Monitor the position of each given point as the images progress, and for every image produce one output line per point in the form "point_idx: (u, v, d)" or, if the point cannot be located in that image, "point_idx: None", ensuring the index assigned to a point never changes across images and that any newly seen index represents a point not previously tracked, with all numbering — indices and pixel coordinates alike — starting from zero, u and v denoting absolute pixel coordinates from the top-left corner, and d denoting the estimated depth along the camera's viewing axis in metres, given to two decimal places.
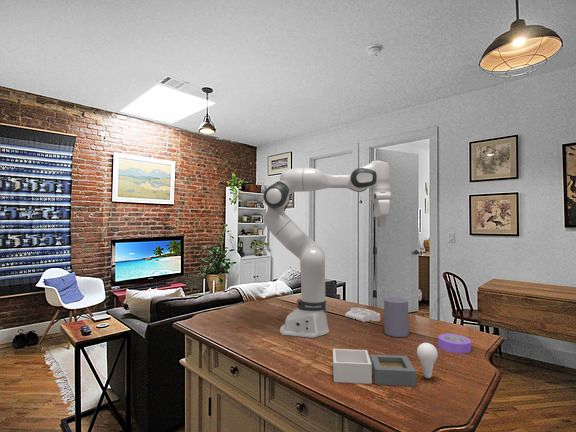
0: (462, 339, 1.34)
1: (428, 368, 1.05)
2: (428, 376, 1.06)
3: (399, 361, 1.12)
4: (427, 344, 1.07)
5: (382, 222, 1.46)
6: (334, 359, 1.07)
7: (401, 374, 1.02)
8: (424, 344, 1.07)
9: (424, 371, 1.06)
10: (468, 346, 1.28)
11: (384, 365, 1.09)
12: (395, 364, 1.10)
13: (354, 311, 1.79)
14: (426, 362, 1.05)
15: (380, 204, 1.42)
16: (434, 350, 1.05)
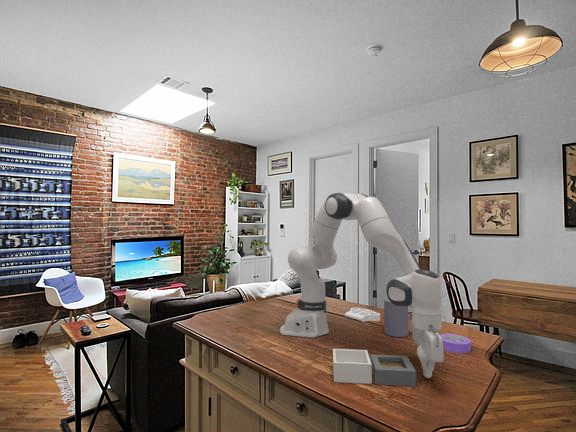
0: (462, 339, 1.34)
1: None
2: (428, 376, 1.06)
3: (399, 361, 1.12)
4: None
5: None
6: (334, 359, 1.07)
7: (401, 374, 1.02)
8: None
9: (424, 371, 1.06)
10: (468, 346, 1.28)
11: (384, 365, 1.09)
12: (395, 364, 1.10)
13: (354, 311, 1.79)
14: (426, 362, 1.05)
15: None
16: None
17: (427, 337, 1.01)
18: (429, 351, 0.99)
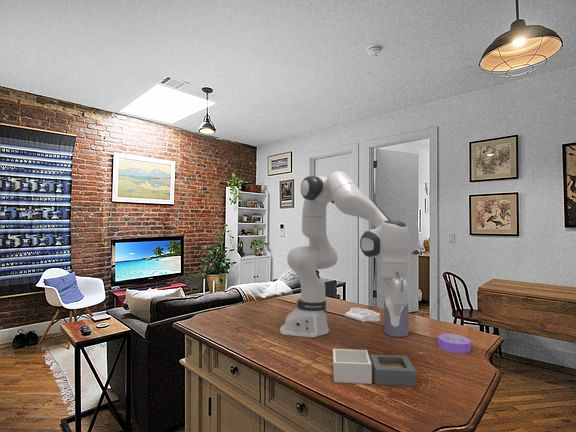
0: (462, 339, 1.34)
1: (395, 316, 1.07)
2: (395, 324, 1.08)
3: (399, 361, 1.12)
4: None
5: None
6: (334, 359, 1.07)
7: (401, 374, 1.02)
8: None
9: (391, 320, 1.08)
10: (468, 346, 1.28)
11: (384, 365, 1.09)
12: (395, 364, 1.10)
13: (354, 311, 1.79)
14: (393, 310, 1.07)
15: None
16: None
17: (393, 283, 1.03)
18: (394, 296, 1.01)
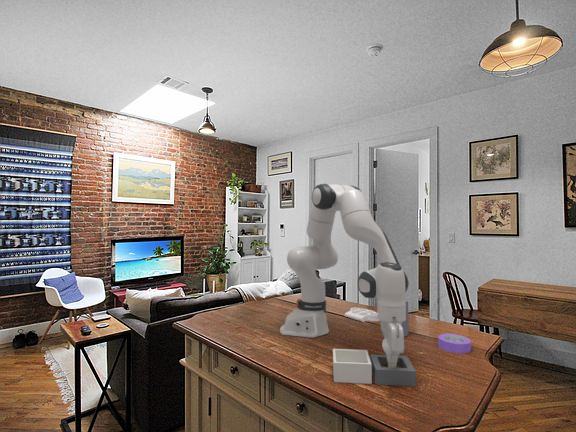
0: (462, 339, 1.34)
1: None
2: None
3: (399, 361, 1.12)
4: None
5: None
6: (334, 359, 1.07)
7: (401, 374, 1.02)
8: None
9: (389, 363, 1.08)
10: (468, 346, 1.28)
11: None
12: None
13: (354, 311, 1.79)
14: (390, 354, 1.06)
15: None
16: None
17: (389, 328, 1.02)
18: (390, 342, 1.00)
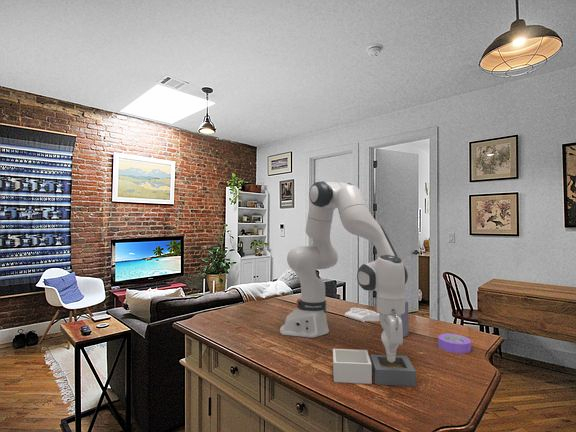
0: (462, 339, 1.34)
1: None
2: (391, 360, 1.07)
3: (399, 361, 1.12)
4: None
5: None
6: (334, 359, 1.07)
7: (401, 374, 1.02)
8: None
9: (387, 355, 1.08)
10: (468, 346, 1.28)
11: (384, 366, 1.09)
12: (395, 365, 1.10)
13: (354, 311, 1.79)
14: None
15: None
16: None
17: (388, 320, 1.02)
18: (389, 334, 1.01)
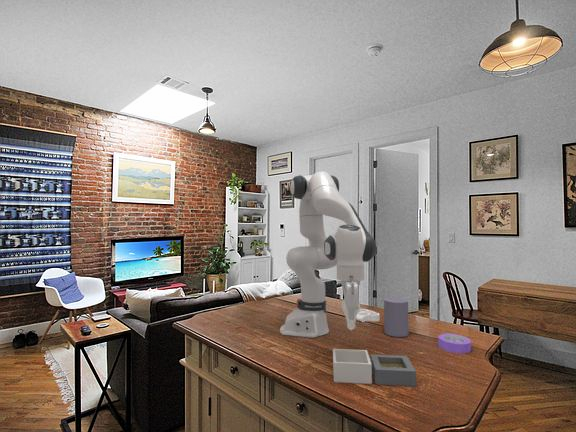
0: (462, 339, 1.34)
1: None
2: (351, 327, 1.09)
3: (399, 361, 1.12)
4: None
5: None
6: (334, 359, 1.07)
7: (401, 374, 1.02)
8: None
9: (347, 323, 1.09)
10: (468, 346, 1.28)
11: (384, 366, 1.09)
12: (395, 365, 1.10)
13: None
14: None
15: None
16: None
17: None
18: (346, 299, 1.02)
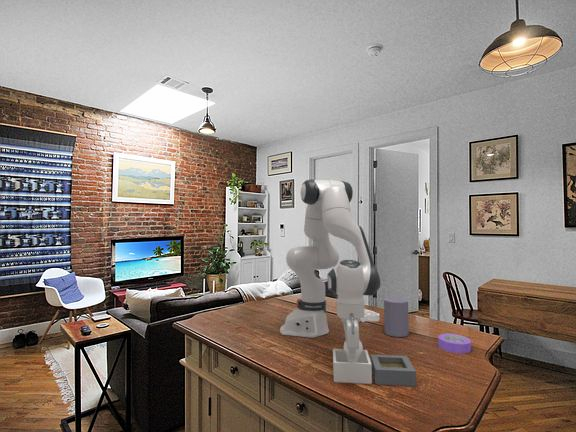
0: (462, 339, 1.34)
1: (352, 361, 1.08)
2: None
3: (399, 361, 1.12)
4: None
5: None
6: (334, 359, 1.07)
7: (401, 374, 1.02)
8: None
9: None
10: (468, 346, 1.28)
11: (384, 366, 1.09)
12: (395, 365, 1.10)
13: None
14: None
15: None
16: (359, 344, 1.08)
17: (346, 325, 1.04)
18: None
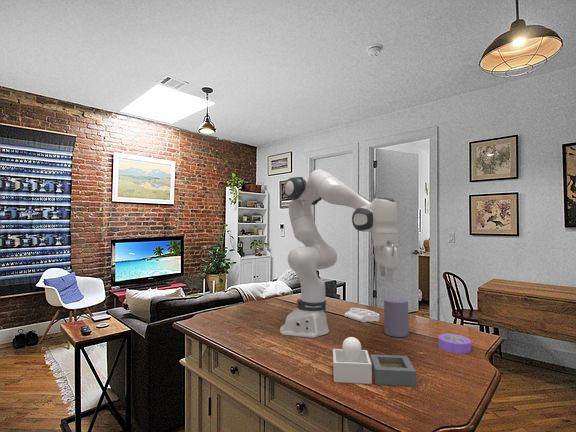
0: (462, 339, 1.34)
1: (351, 361, 1.08)
2: None
3: (399, 361, 1.12)
4: (351, 338, 1.09)
5: None
6: (334, 359, 1.07)
7: (401, 374, 1.02)
8: (349, 338, 1.10)
9: None
10: (468, 346, 1.28)
11: (384, 366, 1.09)
12: (395, 365, 1.10)
13: (353, 311, 1.79)
14: (349, 356, 1.08)
15: None
16: (357, 344, 1.08)
17: (385, 250, 1.17)
18: (386, 260, 1.15)
